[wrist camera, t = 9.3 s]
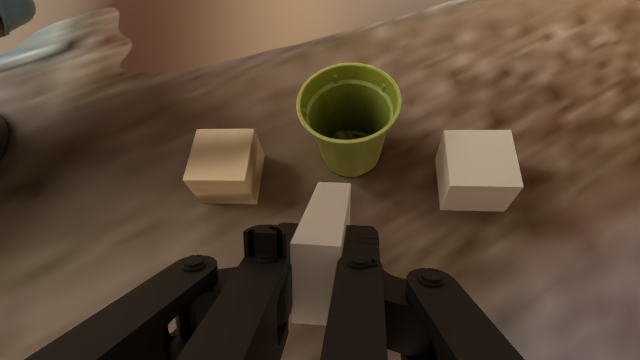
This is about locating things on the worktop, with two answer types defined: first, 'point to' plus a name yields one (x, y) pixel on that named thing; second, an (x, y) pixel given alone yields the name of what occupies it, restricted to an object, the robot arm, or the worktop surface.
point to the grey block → (477, 170)
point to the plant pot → (349, 114)
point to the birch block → (225, 166)
